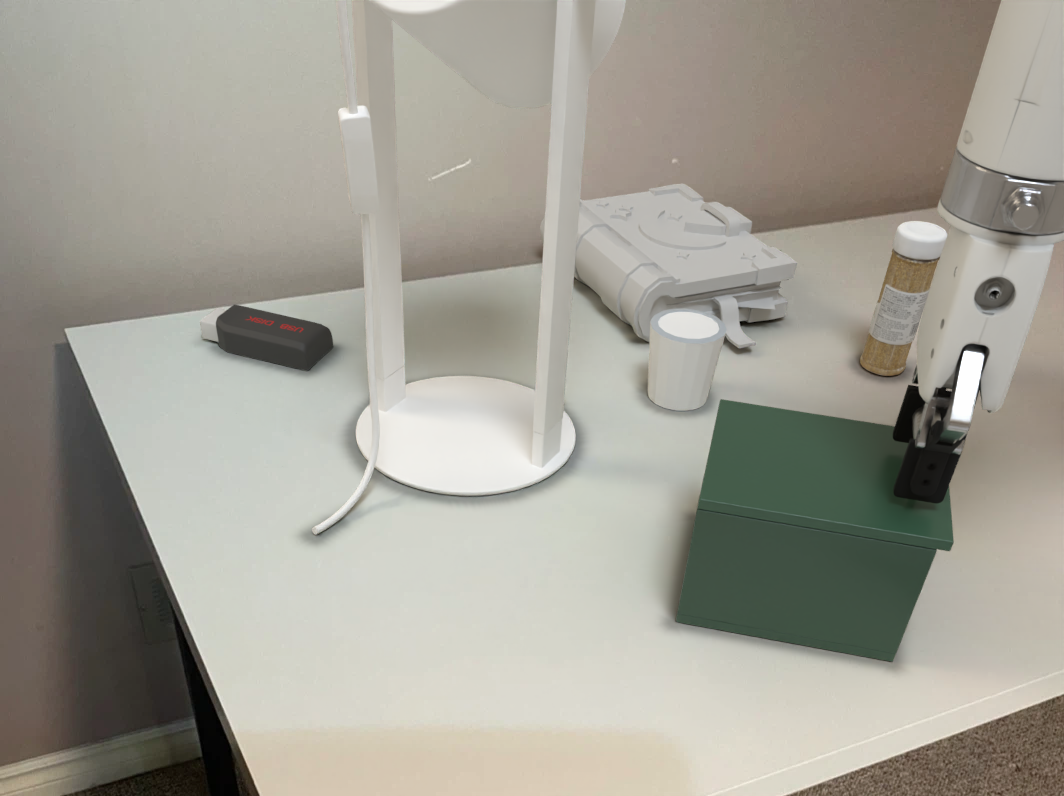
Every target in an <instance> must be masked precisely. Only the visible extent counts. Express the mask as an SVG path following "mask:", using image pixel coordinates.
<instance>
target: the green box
mask: <svg viewBox="0 0 1064 796" xmlns="http://www.w3.org/2000/svg"><path fill="white" fill-rule="evenodd" d="M696 507H697V508H696V512H695V516H694V517H695V518H694V523H693V528H692V533H691V539H690V545H689V550H688V555H687V558H686V559H687V560H686V566H685V569H684V577H683V581H682V586H681V592H680V597H679V602H678V607H677V612H676V617H675V622H676V623H680V624H686V625H690V626H695V627H702V628H707V629H713V630H718V631H723V632H728V633H734V634H740V635H745V636H750V637H756V638H761V639H766V640H772V641H778V642H782V643H783V642H784V643H788V644H795V645H798V646H799V645H800V646H805V647H811V648H817V649H820V650H821V649H822V650H826V651H833V652H838V653H843V654H848V655H854V656H860V657H864V658H871V659H876V660H880V661H885V662H886V661H887V662H892V663H893V662H894V660H895V658H896V655H897V652H898V650H899V648H900V645H901V642H902V640H903V638H904V635H905V633H906V630H907V627H908V625H909V623H910V620H911V617H912V615H913V612H914V609H915V607H916V605H917V602H918V600H919V597H920V594H921V592H922V590H923V587H924V586H925V585H924V584H925V582H926V580H927V577H928V574H929V572H930V570H931V567H932V565H933V562H934V559H935V556H936V554H937V552H938V549H932V548H926V547H920V546H914V545H908V544H903V543H897V542H891V541H885V540H879V539H873V538H867V537H861V536H855V535H850V534H844V533H838V532H832V531H826V530H820V529H814V528H808V527H803V526H797V525H791V524H785V523H779V522H773V521H767V520H761V519H756V518H750V517H744V516H738V515H732V514H726V513H720V512H714V511H709V510H703V509H698V506H696Z"/></svg>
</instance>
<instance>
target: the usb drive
mask: <svg viewBox="0 0 1064 796" xmlns="http://www.w3.org/2000/svg"><path fill="white" fill-rule="evenodd" d="M199 327H200V332H201V338H202V339H205V340H209V341H212V342H217V343H218V347H219V348H220V349H222V350H224V351H225V352H227V353H229V354H234V355H239V356H243V357H247V358H251V359H255V360H259V361H262V362H263V361H264V362H268V363H271V364H276V365H280V366H284V367H289V368H293V369H297V370H302V371H306V372H307V371H309V370H310V369H311V368H312V367H313V366H314V365H316V363H318V362H319V361H320V360H321V359H322V358H323V357H324V356H325V355H326V354H328V353H329V352H330V351H331V350H332V349H333V348H334V339H333V334H332V331H331V330H330V328H329V327H328V326H325V325H324V324H322V323H319V322H315V321H311V320H306V319H302V318H297V317H292V316H289V315H284V314H280V313H276V312H271V311H267V310H262V309H258V308H253V307H249V306H245V305H240V304H233V305H231V306H230V307H229V308H228V309H226V308H223V307H216V308H214V309H213V310H212V311H210V312H209V313H208V314H206V315H205V316H203V317H202V318H201V319H200V320H199Z"/></svg>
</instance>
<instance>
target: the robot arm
mask: <svg viewBox="0 0 1064 796" xmlns="http://www.w3.org/2000/svg"><path fill="white" fill-rule="evenodd" d="M951 158H952V159H951V161H950V164H949V168H948V170H947V171H948V172H947V175H946V178H945V181H944V184H943V187H942V190H941V194H940V198H939V201H938V204H937V207H936V209H937V210H936V211H937V214H938V215H939V217H940V218H941V219H943V220H944V222H945V223H947V224H948V225H949V228H948V229H949V230H948V232H947V235H948V236H947V239H946V241H945V244H944V247H943V250H942V253H941V256H940V259H939V260H938V263H937V267H936V269H935V272H934V276H933V279H932V282H931V286H930V290H929V293H928V297H927V300H926V303H925V307H924V310H923V313H922V316H921V319H920V322H919V325H918V329H917V335H916V336H917V338H916V366H915V367H914V370H913V374H912V378H911V383H912V384H907V388H906V391H905V393H904V397H903V399H902V403H901V406H900V409H899V412H898V415H897V418H896V421H895V424H894V426H895V427H894V430H893V439H894V440H895V441H898V442H904V443H909V444H908V447H907V449H906V452H905V455H904V458H903V461H902V464H901V467H900V470H899V473H898V476H897V479H896V482H895V484H894V488H893V493H894V495H895V496H896V497H900V498H906V499H912V500H918V501H924V502H930V503H941V502H942V501H943V500H944V497H945V495H946V492H947V489H948V487H949V488H950V484H951V481H952V480H953V477H954V474H955V471H956V469H957V466H958V464H959V461H960V458H961V455H962V453H963V450H964V446H965V444H966V440H967V435H968V432H969V430H970V428H971V424H972V421H973V415H974V411H975V408H976V405H977V401H978V398H979V395H980V402H981V410H985V411H986V412H987V413H988V414H995V413H996V412H999V410H1001V409H1002V407H1003V405H1004V403H1005V400H1006V399H1007V395H1008V393H1009V389H1010V387H1011V384H1012V381H1013V378H1014V375H1015V372H1016V370H1017V366H1018V364H1019V361H1020V358H1021V356H1022V353H1023V349H1024V347H1025V344H1026V342H1027V339H1028V336H1029V332H1030V329H1031V326H1032V324H1033V321H1034V318H1035V315H1036V312H1037V309H1038V305H1039V304H1040V303H1039V302H1040V299H1041V297H1042V293H1043V289H1044V286H1045V283H1046V279H1047V275H1048V272H1049V268H1050V265H1051V260H1052V258H1053V257H1052V256H1053V252H1054V248H1055V244H1059V243H1062V242H1064V0H1000V3H999V6H998V9H997V12H996V16H995V19H994V21H993V26H992V29H991V32H990V36H989V38H988V42H987V45H986V48H985V52H984V55H983V58H982V61H981V65H980V68H979V71H978V74H977V77H976V81H975V84H974V86H973V91H972V93H971V97H970V100H969V103H968V106H967V110H966V114H965V116H964V119H963V123H962V126H961V129H960V132H959V136H958V138H957V142H956V146H955V148H954V152H953V155H952V157H951ZM913 384H914V385H913ZM922 406H924V409H923V413H922V417H921V421H920V424H919V428H918V432H917V436H916V439H913V424H912V417H913V414H914V412H915V411H916V410H917V409H918V408H920V407H922ZM936 408H937V409H938V410H939V411H940V415H941V420H937V421H936V422H935V423H934V424H933V425H932V427H931V424H932V421H933V417H934V413H935V410H936Z"/></svg>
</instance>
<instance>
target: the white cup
mask: <svg viewBox="0 0 1064 796" xmlns="http://www.w3.org/2000/svg"><path fill="white" fill-rule="evenodd" d="M726 331H727V329H726V327H725V324H724V323H723V322H722V321H721V320H720V319H719V318H717V317H716V316H713V315H711V314H709V313H706V312H703V311H698V310H693V309H670V310H665V311H662V312H660V313H658V314H656V315H654V316H653V318H652V320H651V321H650V343H649V342H648V344H649V346H648V369H647V370H648V371H647V395H648V398H649V400H651V402H652V403H653V404H655V405H657V406H659V407H661V408H663V409H667V410H672V411H682V412H684V411H685V412H686V411H687V412H689V411H693V410H697V409H700V408H701V407H703V406H704V405H705V404H706V402H707V400H708V398H709V393H710V390H711V387H712V384H713V380H714V376H715V372H716V370H717V366H718V362H719V358H720V355H721V352H722V349H723V346H724V345H723V344H724V341H725V338H726V336H725V334H726Z"/></svg>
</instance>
